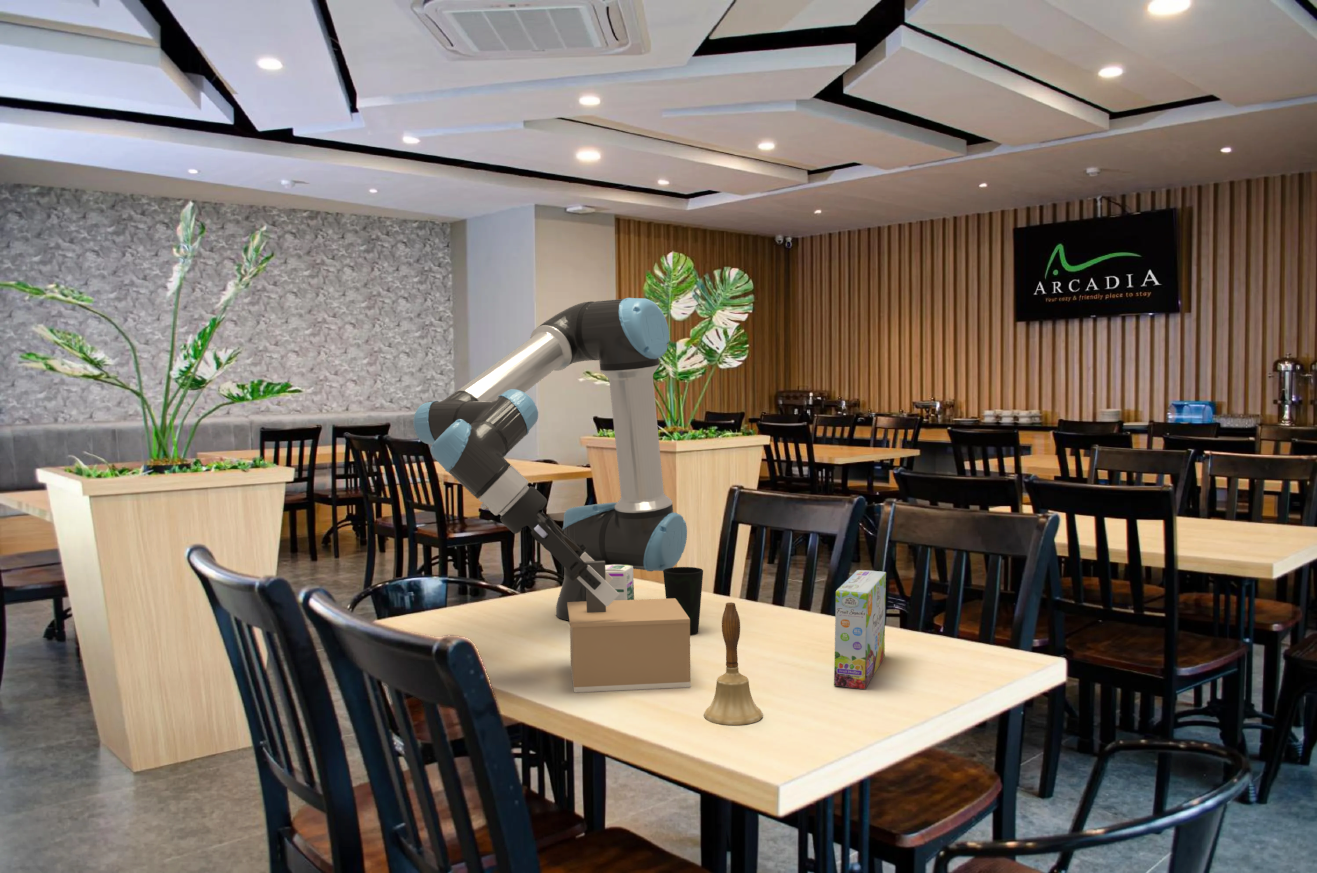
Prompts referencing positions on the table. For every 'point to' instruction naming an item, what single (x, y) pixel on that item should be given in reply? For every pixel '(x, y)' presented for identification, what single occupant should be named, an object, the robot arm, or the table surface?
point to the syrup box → (622, 580)
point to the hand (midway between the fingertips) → (610, 592)
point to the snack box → (859, 628)
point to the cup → (685, 591)
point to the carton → (630, 657)
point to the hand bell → (732, 681)
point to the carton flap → (623, 609)
